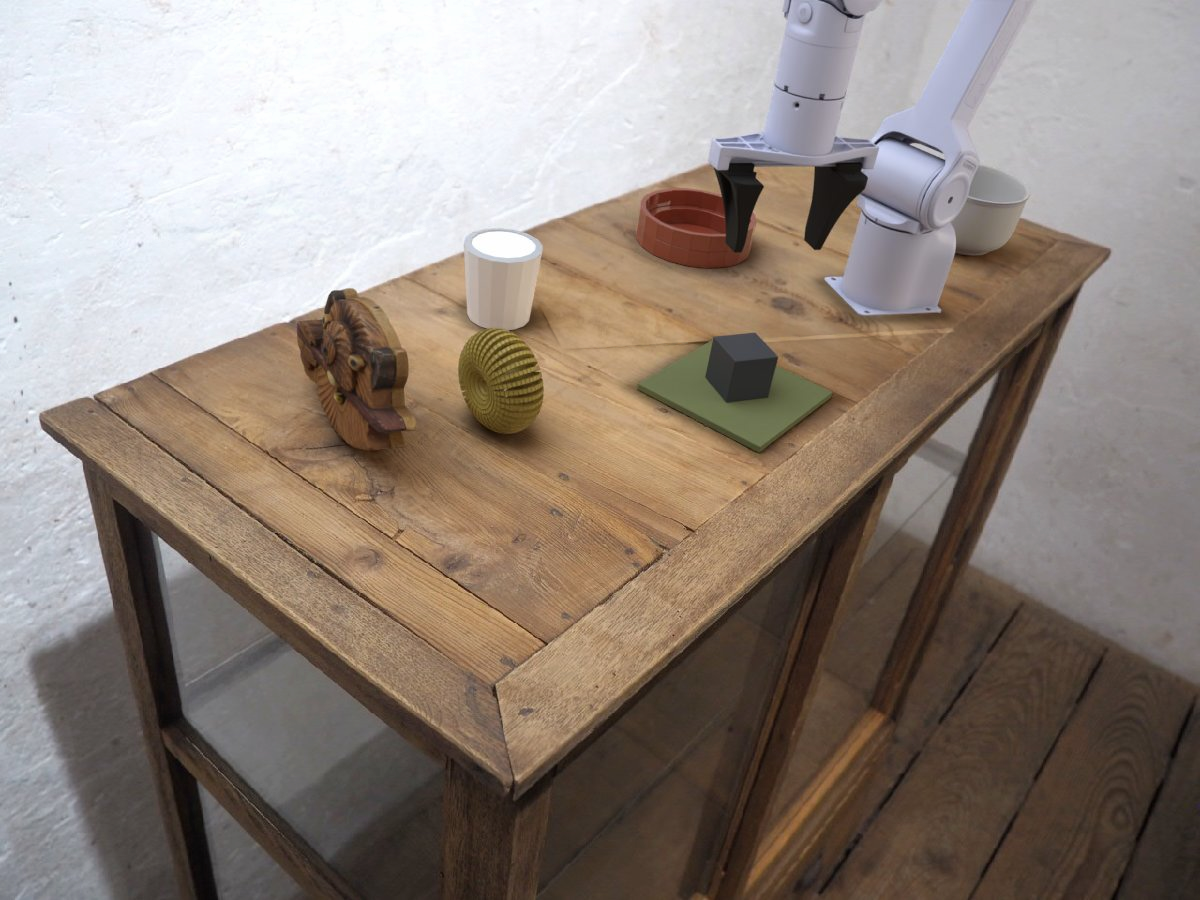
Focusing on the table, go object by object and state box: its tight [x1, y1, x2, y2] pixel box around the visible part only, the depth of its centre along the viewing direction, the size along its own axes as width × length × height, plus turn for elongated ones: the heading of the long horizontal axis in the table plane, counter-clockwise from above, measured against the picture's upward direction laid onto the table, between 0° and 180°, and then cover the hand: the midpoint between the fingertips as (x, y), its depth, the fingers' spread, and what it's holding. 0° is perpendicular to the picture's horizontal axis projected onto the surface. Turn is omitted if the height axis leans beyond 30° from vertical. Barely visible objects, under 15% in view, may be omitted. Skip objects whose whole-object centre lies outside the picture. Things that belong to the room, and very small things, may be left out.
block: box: [705, 332, 779, 402], centre depth 87 cm, size 4×4×4 cm
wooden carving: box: [296, 287, 417, 451], centre depth 75 cm, size 16×5×10 cm, turn 38°
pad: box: [636, 339, 833, 453], centre depth 88 cm, size 12×12×1 cm
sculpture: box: [457, 328, 545, 435], centre depth 78 cm, size 8×4×8 cm, turn 40°
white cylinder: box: [463, 227, 544, 331], centre depth 93 cm, size 7×7×7 cm
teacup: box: [950, 162, 1031, 257], centre depth 119 cm, size 14×11×8 cm
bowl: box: [635, 187, 758, 269], centre depth 111 cm, size 12×12×4 cm
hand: (773, 246), depth 91 cm, fingers open, 7 cm apart
